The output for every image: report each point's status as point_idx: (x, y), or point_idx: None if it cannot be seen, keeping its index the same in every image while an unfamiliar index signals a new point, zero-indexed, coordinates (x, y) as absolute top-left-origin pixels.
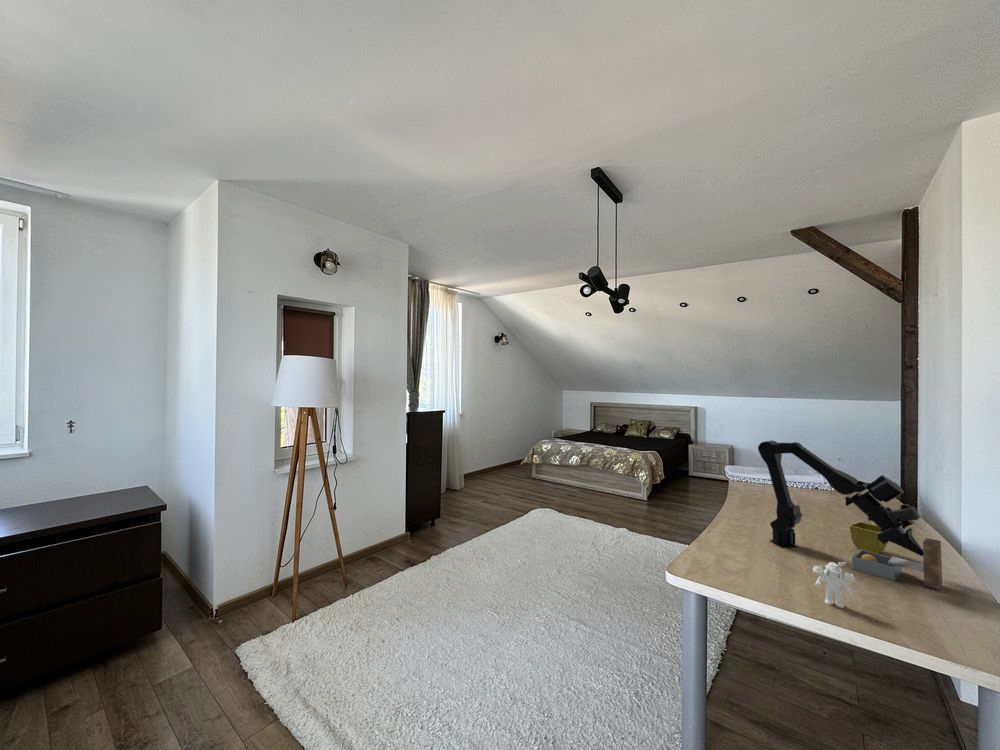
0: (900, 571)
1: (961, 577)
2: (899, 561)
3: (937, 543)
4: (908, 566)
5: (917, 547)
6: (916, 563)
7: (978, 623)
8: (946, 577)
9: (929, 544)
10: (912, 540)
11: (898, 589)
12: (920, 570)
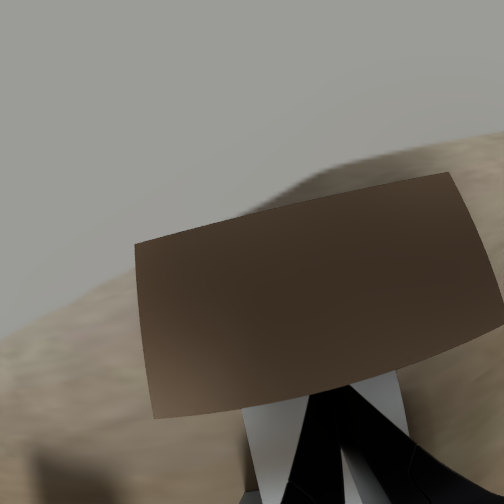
0: None
1: (68, 326)
2: (349, 498)
3: (348, 204)
4: (402, 430)
5: (393, 425)
6: (276, 440)
7: (487, 155)
8: (116, 360)
9: (478, 252)
10: (428, 487)
11: (497, 381)
12: (393, 372)
